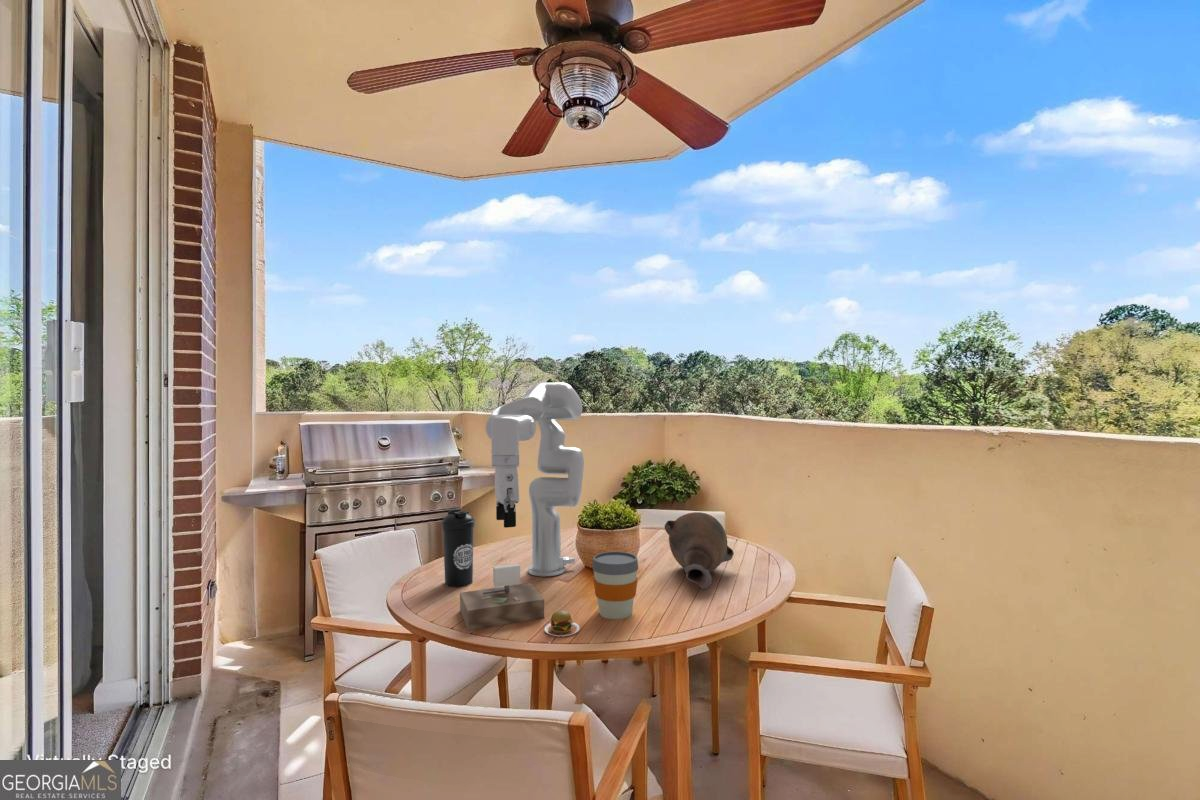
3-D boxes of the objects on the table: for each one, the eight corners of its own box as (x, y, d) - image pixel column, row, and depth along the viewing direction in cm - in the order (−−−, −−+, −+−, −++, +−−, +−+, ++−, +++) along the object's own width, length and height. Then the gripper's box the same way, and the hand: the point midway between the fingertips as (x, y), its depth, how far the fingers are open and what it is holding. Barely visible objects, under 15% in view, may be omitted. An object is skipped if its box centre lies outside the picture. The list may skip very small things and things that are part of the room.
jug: (679, 559, 202) (669, 604, 173) (666, 508, 199) (654, 544, 171) (736, 552, 196) (735, 596, 167) (723, 499, 194) (720, 535, 165)
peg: (518, 588, 157) (518, 563, 157) (520, 590, 155) (520, 565, 155) (482, 593, 154) (481, 567, 154) (483, 596, 152) (483, 570, 152)
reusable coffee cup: (611, 600, 162) (611, 548, 162) (647, 611, 154) (647, 556, 154) (583, 614, 152) (582, 558, 152) (620, 625, 144) (619, 567, 144)
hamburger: (595, 631, 143) (595, 609, 143) (562, 647, 134) (562, 624, 134) (561, 619, 151) (561, 598, 151) (528, 634, 141) (528, 612, 141)
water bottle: (450, 590, 172) (450, 515, 171) (437, 582, 179) (436, 510, 179) (480, 583, 178) (480, 510, 178) (466, 575, 186) (465, 505, 186)
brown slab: (530, 600, 163) (530, 582, 163) (544, 617, 150) (544, 598, 150) (460, 610, 155) (459, 591, 155) (468, 630, 142) (467, 609, 142)
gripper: (526, 463, 148) (527, 528, 148) (511, 457, 164) (512, 516, 164) (498, 465, 145) (498, 531, 145) (485, 458, 161) (486, 518, 162)
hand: (505, 523), depth 155 cm, fingers open, 9 cm apart
